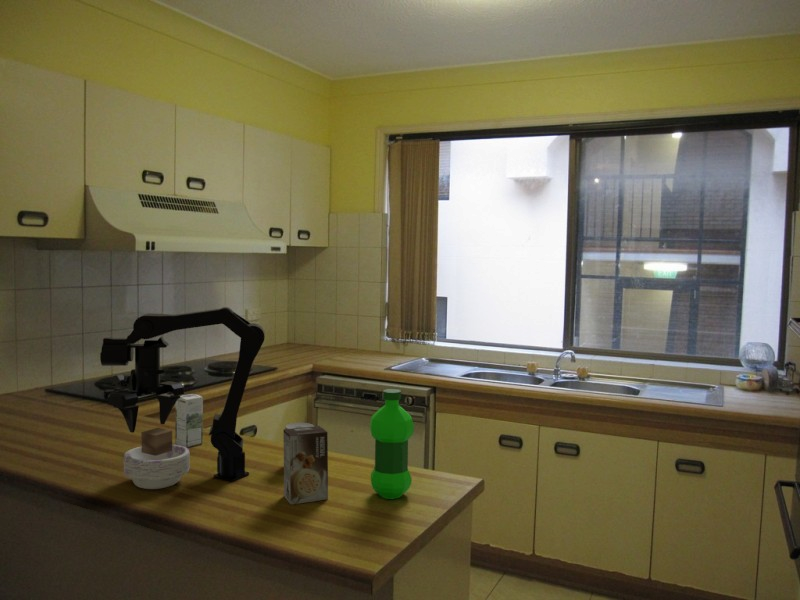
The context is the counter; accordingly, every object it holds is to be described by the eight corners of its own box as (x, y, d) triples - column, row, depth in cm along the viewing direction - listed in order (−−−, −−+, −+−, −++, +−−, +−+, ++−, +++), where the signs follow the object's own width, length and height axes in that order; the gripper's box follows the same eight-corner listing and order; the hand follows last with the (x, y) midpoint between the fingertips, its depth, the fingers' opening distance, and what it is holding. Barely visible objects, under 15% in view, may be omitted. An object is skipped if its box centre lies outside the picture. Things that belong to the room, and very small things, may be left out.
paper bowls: (200, 474, 168) (199, 444, 167) (172, 496, 153) (171, 462, 152) (143, 471, 170) (143, 441, 169) (110, 492, 155) (110, 459, 154)
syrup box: (192, 440, 198) (191, 392, 197) (203, 444, 194) (203, 395, 193) (175, 444, 193) (174, 395, 192) (186, 448, 190) (185, 399, 188)
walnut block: (172, 450, 162) (172, 430, 161) (155, 455, 157) (155, 435, 157) (158, 447, 164) (158, 427, 164) (141, 452, 160) (141, 432, 159)
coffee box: (320, 490, 158) (321, 425, 157) (328, 500, 152) (329, 431, 151) (282, 495, 154) (283, 428, 153) (289, 505, 148) (289, 435, 147)
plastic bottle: (362, 490, 158) (363, 388, 156) (402, 484, 162) (403, 385, 160) (378, 505, 149) (379, 397, 147) (419, 499, 153) (421, 393, 151)
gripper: (155, 357, 173) (155, 415, 174) (92, 367, 156) (92, 431, 157) (185, 361, 167) (185, 421, 168) (123, 372, 151) (124, 438, 152)
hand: (147, 428), depth 162 cm, fingers open, 9 cm apart
